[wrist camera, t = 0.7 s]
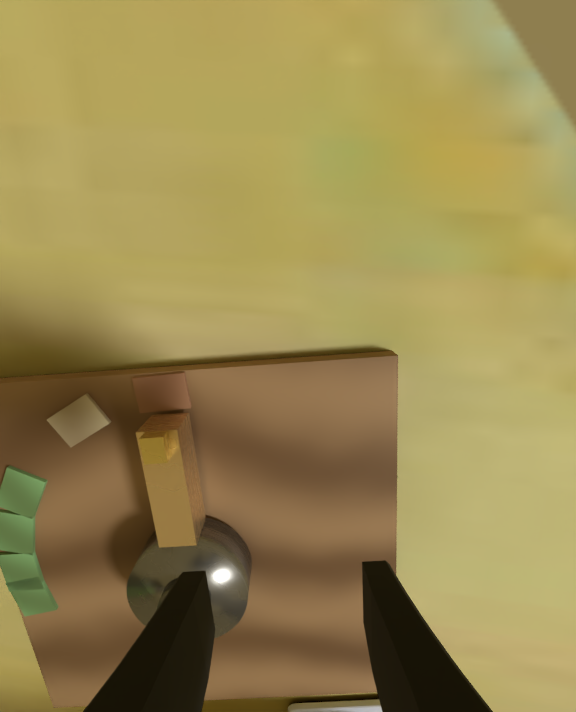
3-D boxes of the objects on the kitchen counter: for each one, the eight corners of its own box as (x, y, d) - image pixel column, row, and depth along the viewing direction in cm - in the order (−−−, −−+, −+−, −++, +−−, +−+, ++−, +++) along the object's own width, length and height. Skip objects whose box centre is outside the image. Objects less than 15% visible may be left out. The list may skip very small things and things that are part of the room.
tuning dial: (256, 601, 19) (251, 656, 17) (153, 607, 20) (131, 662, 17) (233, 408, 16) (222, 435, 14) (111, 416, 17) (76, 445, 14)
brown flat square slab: (390, 672, 22) (396, 695, 21) (62, 689, 23) (50, 711, 22) (391, 350, 17) (399, 356, 16) (-40, 380, 17) (-64, 388, 16)
